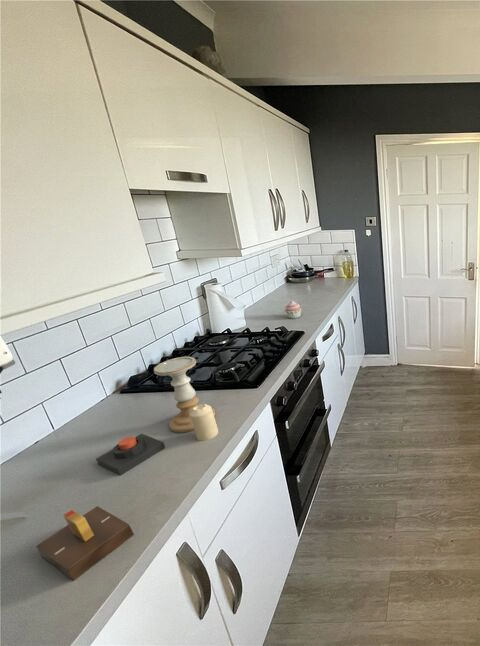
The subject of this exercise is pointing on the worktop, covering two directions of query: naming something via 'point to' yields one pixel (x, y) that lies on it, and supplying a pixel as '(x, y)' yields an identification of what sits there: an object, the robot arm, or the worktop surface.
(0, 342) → the robot arm
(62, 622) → the worktop surface
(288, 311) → the cupcake
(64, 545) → the brown wooden base
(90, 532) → the lock knob
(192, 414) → the candle
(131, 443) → the release button
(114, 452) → the block
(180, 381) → the candle holder
